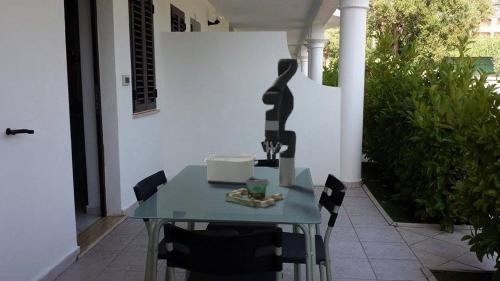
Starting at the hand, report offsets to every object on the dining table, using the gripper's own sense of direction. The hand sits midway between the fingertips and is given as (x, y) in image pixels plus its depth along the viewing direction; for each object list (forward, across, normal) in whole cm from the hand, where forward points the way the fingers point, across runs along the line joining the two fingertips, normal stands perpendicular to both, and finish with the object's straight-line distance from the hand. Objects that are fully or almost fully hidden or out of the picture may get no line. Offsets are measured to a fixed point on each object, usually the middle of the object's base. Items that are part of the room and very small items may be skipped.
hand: (271, 160), depth 249 cm
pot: (+19, +43, -13) cm, 49 cm away
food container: (+19, 0, +11) cm, 22 cm away
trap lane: (+19, 0, +14) cm, 24 cm away
